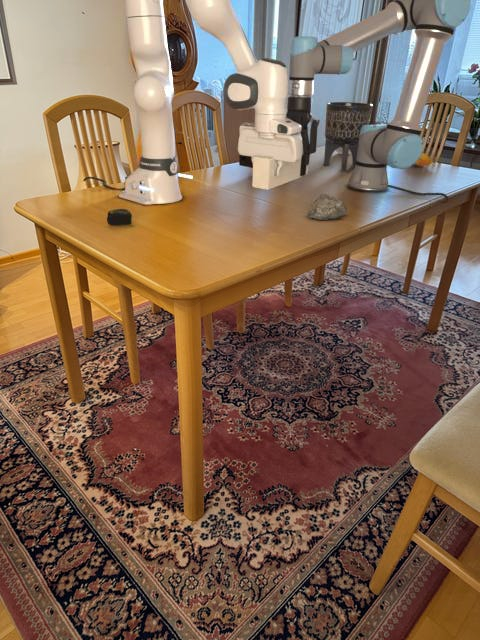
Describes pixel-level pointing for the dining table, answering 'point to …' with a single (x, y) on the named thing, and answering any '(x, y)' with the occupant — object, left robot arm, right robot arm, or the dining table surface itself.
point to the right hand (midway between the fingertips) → (294, 173)
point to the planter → (345, 129)
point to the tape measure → (119, 217)
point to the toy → (424, 160)
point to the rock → (327, 208)
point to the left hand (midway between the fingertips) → (267, 174)
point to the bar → (265, 172)
